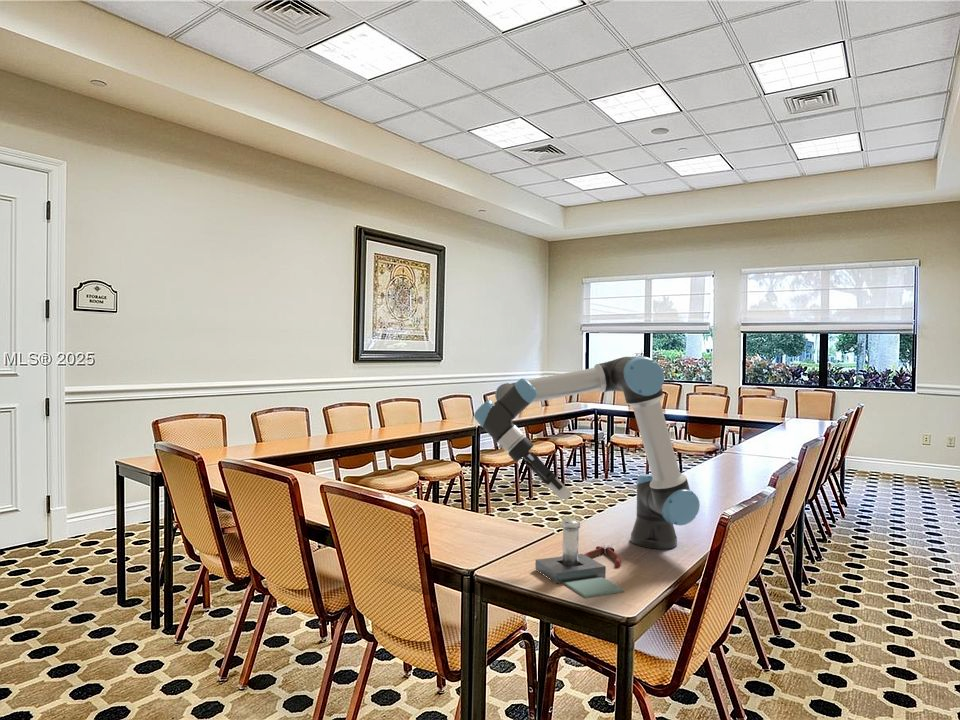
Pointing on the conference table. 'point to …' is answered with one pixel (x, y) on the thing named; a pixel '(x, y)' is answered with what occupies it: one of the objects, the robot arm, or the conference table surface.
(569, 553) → the steel pin
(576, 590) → the rubber mat
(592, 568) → the socket plate
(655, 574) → the conference table surface
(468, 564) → the conference table surface
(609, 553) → the pliers
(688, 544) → the conference table surface
